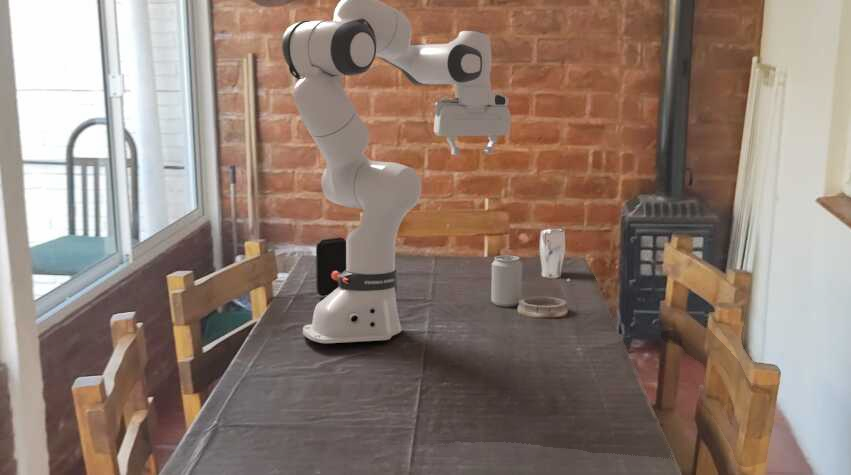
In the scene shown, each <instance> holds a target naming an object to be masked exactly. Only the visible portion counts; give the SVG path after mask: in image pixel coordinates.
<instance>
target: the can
mask: <svg viewBox="0 0 851 475" xmlns="http://www.w3.org/2000/svg"><path fill="white" fill-rule="evenodd" d="M522 275H523V264H522V262H521V261H520V257H519V256H515V255H497V256H494V260H493V262H492V263H491V290H490V292H491V293H490V294H491V295H490V297H491V298H490V299H491V300H490V301H491V302H492V303H493V304H494V305H495V306H497V307H502V308H503V307H504V308H510V307H512V308H513V307H518V305H519V299H522V287H523V286H522V283H523V281H522V280H523V276H522Z"/></svg>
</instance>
